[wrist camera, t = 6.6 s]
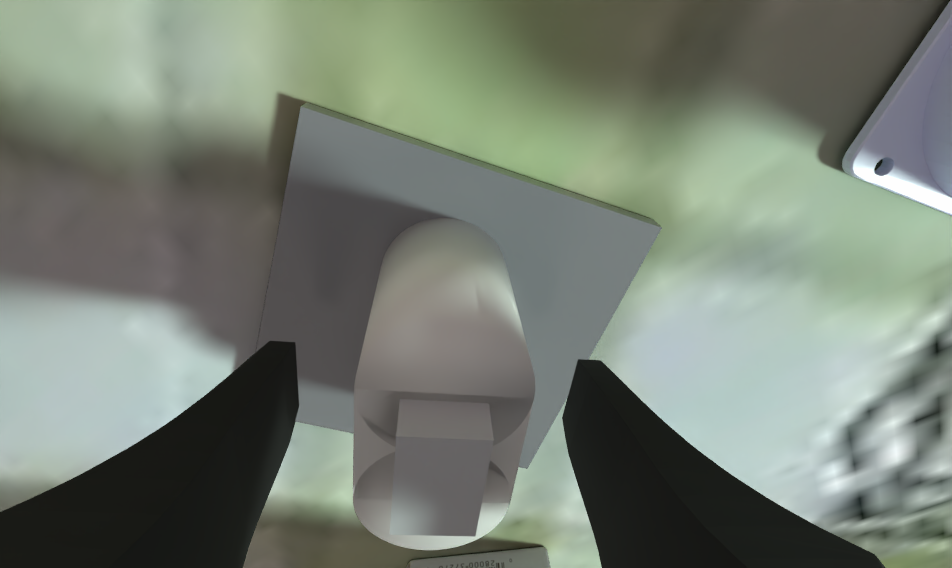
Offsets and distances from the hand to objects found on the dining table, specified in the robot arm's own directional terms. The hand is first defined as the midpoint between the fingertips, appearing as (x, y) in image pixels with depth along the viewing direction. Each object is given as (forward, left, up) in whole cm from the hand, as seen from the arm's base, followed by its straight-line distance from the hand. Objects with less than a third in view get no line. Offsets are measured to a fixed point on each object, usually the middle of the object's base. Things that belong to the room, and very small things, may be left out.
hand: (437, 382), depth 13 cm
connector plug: (0, 0, -3) cm, 3 cm away
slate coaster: (0, 0, -3) cm, 3 cm away
